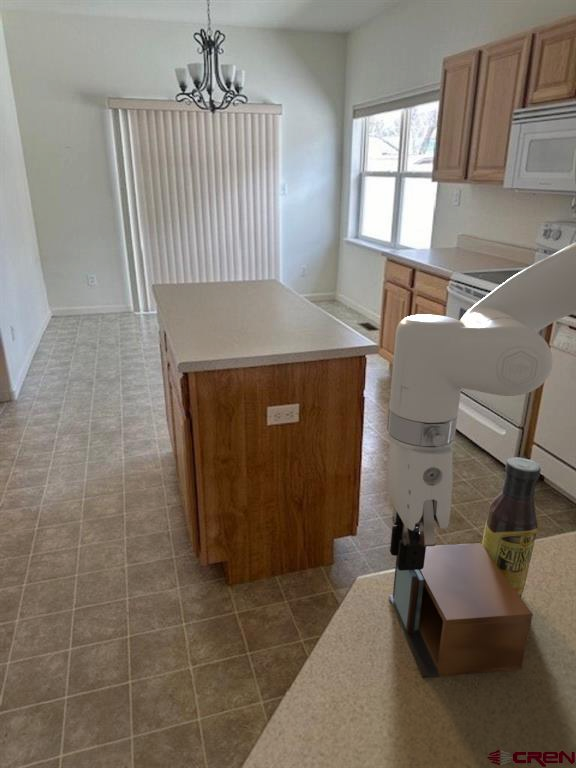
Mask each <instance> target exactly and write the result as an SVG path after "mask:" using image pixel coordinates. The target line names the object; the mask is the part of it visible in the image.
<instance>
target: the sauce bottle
mask: <svg viewBox="0 0 576 768" xmlns="http://www.w3.org/2000/svg"><path fill="white" fill-rule="evenodd" d="M504 471H505V477H504V482H503V485H502V491H501V492H500V493H499V494H498V495H497V496H496V497H494V499H493V500H492V501H491V503H490V505H489V508H488V514H487V518H486V519H485V520H486V521H485V525H484V530H483V537H482V541H481V545H482V546H483V547H484V549H485V550H486V551H487V553H488V554H489V556H490V557H491V558H492V560H493V561H494V562H495V564H496V565H497V566H498V568H499V569H500V570H501V572H502V573H503V574H504V576H505V577H506V578H507V580H508V581H509V582H510V584H511V585H512V587H513V588H514V589H515V591H516V592H517V593H518V595H519V596H520V597H521V598H522V595H523V593H524V589H525V585H526V581H527V577H528V573H529V568H530V564H531V561H532V560H531V559H532V555H533V550H534V546H535V541H536V538H537V533H538V527H539V526H538V520H537V513H536V507H535V499H534V498H535V491H536V487H537V481H538V480H539V478H540V477H541V465H540V464H539V463H538V462H536V461H533V460H531V459H528V458H525V457H510V458H508V459H507V460H506V463H505V468H504Z"/></svg>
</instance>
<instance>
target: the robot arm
mask: <svg viewBox="0 0 576 768" xmlns="http://www.w3.org/2000/svg"><path fill="white" fill-rule="evenodd" d="M574 314H576V241H575V242H574V243H572V244H571V243H570V244H569V245H567V246H565V247H564V248H562V249H560V250H558V251H556V252H555V253H553V254H551V255H548V256H547V257H545V258H543V259H541V260H539V261H537V262H535V263H533V264H532V265H530V266H528V267H526V268H524V269H522V270H520V271H519V272H518V273H516V274H514V275H513V276H511V277H510V278H508V279H507V280H506V281H505V282H502V284H500V285H499V286H497V287H496V288H495V289H494V290H492V291H491V292H489V293H488V294H487V295H486V296H485V297H483V298H482V299H481V300H479V301H478V302H476V303H475V304H474V305H473V306H472V307H471V308H469V309H468V310H467V311H466V312H465V313H464V314H463V316H462V317H461V318H460V319H456V318H453V317H451V316H445V315H438V314H415V315H414V314H413V315H410V316H407V317H404V318H403V319H401V320H400V321H399V323H398V325H397V327H396V330H395V337H394V348H393V349H394V350H393V359H392V371H391V383H390V392H389V393H390V394H389V402H388V403H389V406H388V416H387V426H386V437H387V438H388V440H389V448H388V454H387V461H386V462H387V463H386V473H385V489H386V493H387V495H388V498H389V500H390V501H391V503H392V507H393V508H392V516H391V517H392V519H391V520H392V525H393V526H391V537H390V547H389V552H390V555H391V556H394V557H396V556H397V555H398V560H397V567H398V569H399V570H400V571H402V570H420V569H423V567H424V560H425V552H426V547H428V546H436V532H435V531H436V530H435V524H436V525H437V527H438V528H439V529H440V530H447V529H448V527H449V525H450V517H451V508H452V499H453V498H452V497H453V496H452V495H453V479H454V478H453V477H454V465H453V464H454V463H453V450H452V447H453V445H454V443H455V439H456V430H457V423H458V415H459V408H460V400H461V392H462V389H463V390H469V391H476V392H480V393H484V394H489V395H495V396H501V397H502V396H503V397H517V396H523V395H527V394H529V393H532V392H533V391H535V390H536V389H538V388H540V387H541V386H542V385H543V384H544V383H545V382H546V381H547V380H548V378H549V376H550V374H551V372H552V369H553V368H552V367H553V354H552V351H551V348H550V346H549V344H548V343H547V341H546V340H545V339H544V337H543V336H542V335H541V334H540V333H538V332H540V331H541V330H543V329H544V328H546V327H548V326H549V325H551V324H553V323H556V322H557V321H559V320H561V319H564V318H566V317H568V316H571V315H574ZM403 523H404V530H403V540H401V537H402V527H403ZM416 528H419V531H418V532H412V533H411V531H414V529H416Z"/></svg>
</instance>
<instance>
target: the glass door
mask: <svg viewBox="0 0 576 768" xmlns="http://www.w3.org/2000/svg"><path fill="white" fill-rule="evenodd" d="M403 530H404V523H403V527H402V537H401V540H403ZM418 531H420V528H416V529H414V531H411V533H412V532H418ZM395 558H396V559H395V568H394V569H395V570H394V578H393V579H394V580H393V588H392V596H393V599H394V601H395V604H396V606H397V609H398V611H399V613H400V616H401V618H402V620H403V623H404V625H405V628H406V630H407V632H408V634H409V633H412V632H413V623H414V614H415V605H416V596H417V587H418V578H417V576H416V574H415V572H414V570H402V571H400V570H399V569H398V567H397V560H398V555H397V556H395Z"/></svg>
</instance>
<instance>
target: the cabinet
mask: <svg viewBox="0 0 576 768" xmlns="http://www.w3.org/2000/svg"><path fill="white" fill-rule="evenodd" d="M414 572H415V574H416V576H417V578H418V587H417V596H416V605H415V614H414V623H413V632H412V633H409V634H408V632H407V630H406V628H405V625H404V623H403V620H402V618H401V616H400V613H399V611H398V609H397V606H396V604H395V601H394V599H393V595H389V596H388V598H389V602H390V603H391V604H390V605H391V606H392V609H393V611H394V613H395V616H396V618H397V620H398V623H399V625H400V628H401V631H402V633H403V636H404V638H405V641H406V643H407V645H408V648H409V650H410V652H411V655H412V657H413V661H414V662H415V664H416V668H417V670H418V672H419V674H420V676H421V678H423V679H424V678H425V679H426V678H435V677H445V676H456V675H467V674H468V675H469V674H477V673H490V672H502V671H513V670H522V668H523V664H524V658H525V654H526V649H527V643H528V639H529V633H530V629H531V624H532V619H533V612H532V611H531V610H530V608H529V607H528V605H527V604H526V602H525V601H524V600H523V598H522V596H521V597H520V596H519V595H518V593H517V592H516V591H515V589H514V588H513V587H512V585H511V584H510V582H509V581H508V580H507V578H506V577H505V576H504V574H503V573H502V572H501V570H500V569H499V568H498V566H497V565H496V564H495V562H494V561H493V560H492V558H491V557H490V556H489V554H488V553H487V551H486V550H485V549H484V547H483V546H482V542H475V543H458V544H442V545H441V544H440V545H435V546H428V547H426V552H425V560H424V567H423V569H420V570H414Z"/></svg>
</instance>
